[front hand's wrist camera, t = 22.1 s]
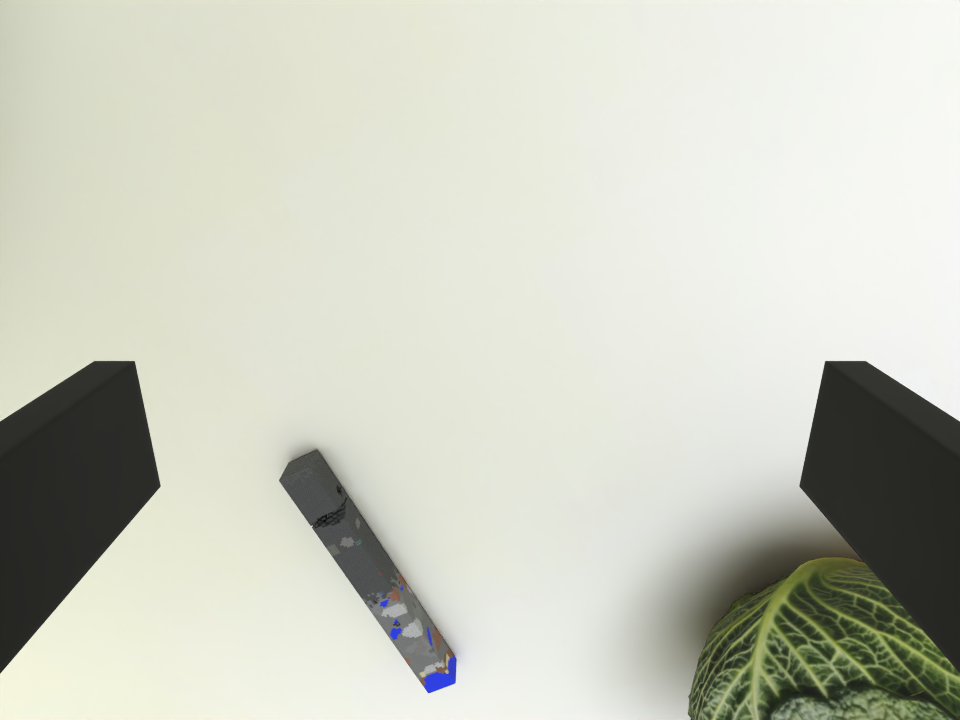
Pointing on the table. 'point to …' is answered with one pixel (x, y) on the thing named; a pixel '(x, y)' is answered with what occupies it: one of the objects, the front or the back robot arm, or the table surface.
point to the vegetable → (823, 654)
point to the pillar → (369, 569)
